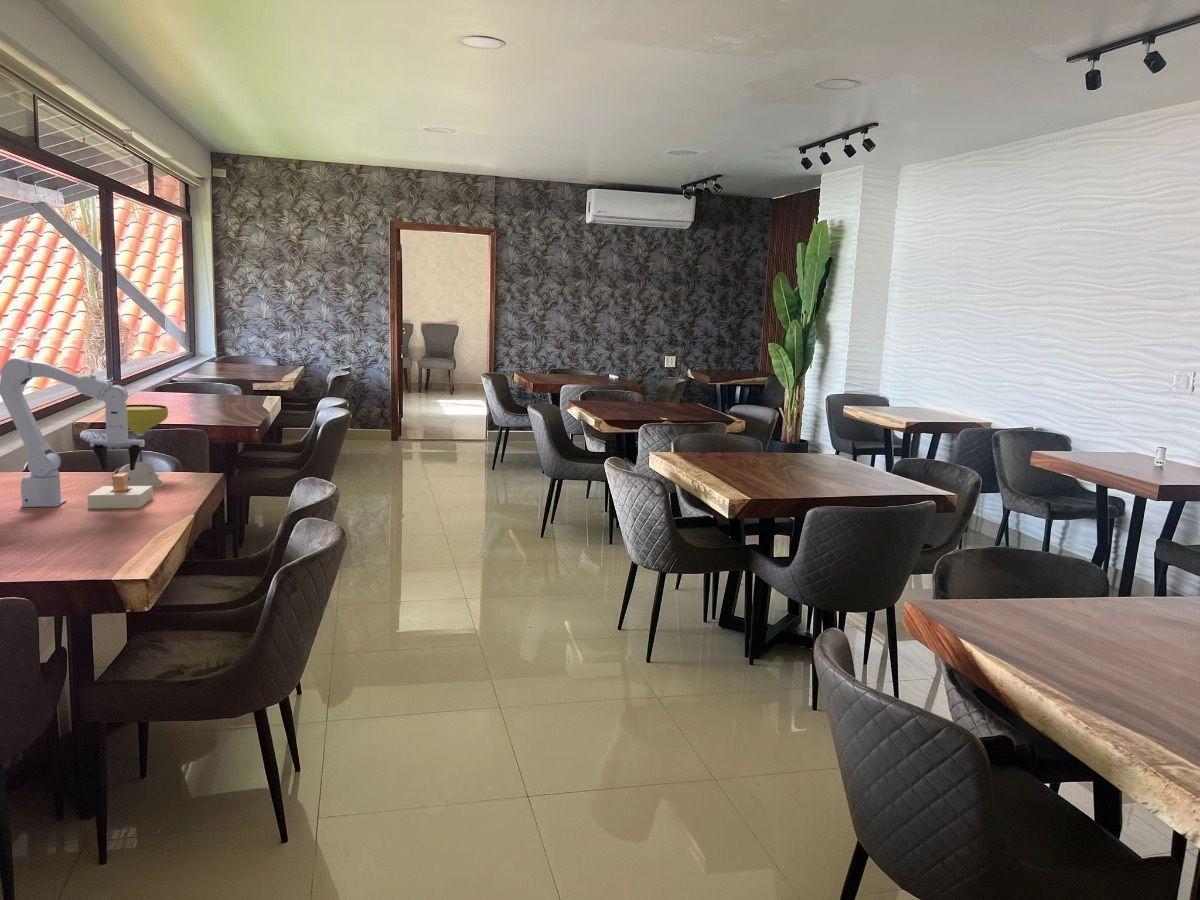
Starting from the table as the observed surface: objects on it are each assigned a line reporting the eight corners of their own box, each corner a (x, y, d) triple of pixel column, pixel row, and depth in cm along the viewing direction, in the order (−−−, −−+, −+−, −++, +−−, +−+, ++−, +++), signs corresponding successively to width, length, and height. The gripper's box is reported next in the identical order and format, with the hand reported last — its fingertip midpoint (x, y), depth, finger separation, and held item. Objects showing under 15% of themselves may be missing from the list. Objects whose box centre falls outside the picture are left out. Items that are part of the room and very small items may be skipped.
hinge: (130, 494, 270) (119, 465, 269) (118, 498, 270) (107, 469, 269) (164, 484, 286) (153, 457, 285) (152, 488, 287) (142, 461, 286)
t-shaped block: (112, 505, 254) (111, 476, 252) (119, 501, 260) (117, 472, 258) (123, 505, 255) (122, 476, 253) (129, 501, 260) (128, 472, 259)
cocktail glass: (165, 471, 310) (163, 404, 306) (174, 479, 296) (171, 409, 292) (109, 474, 300) (106, 405, 296) (115, 483, 285) (112, 410, 281)
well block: (88, 508, 249) (87, 495, 248) (103, 498, 262) (103, 486, 262) (140, 507, 252) (139, 494, 252) (152, 498, 266) (152, 485, 265)
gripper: (85, 426, 248) (87, 471, 250) (139, 427, 252) (140, 472, 254) (93, 423, 255) (95, 467, 257) (146, 424, 259) (147, 468, 261)
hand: (118, 469), depth 256 cm, fingers open, 7 cm apart
